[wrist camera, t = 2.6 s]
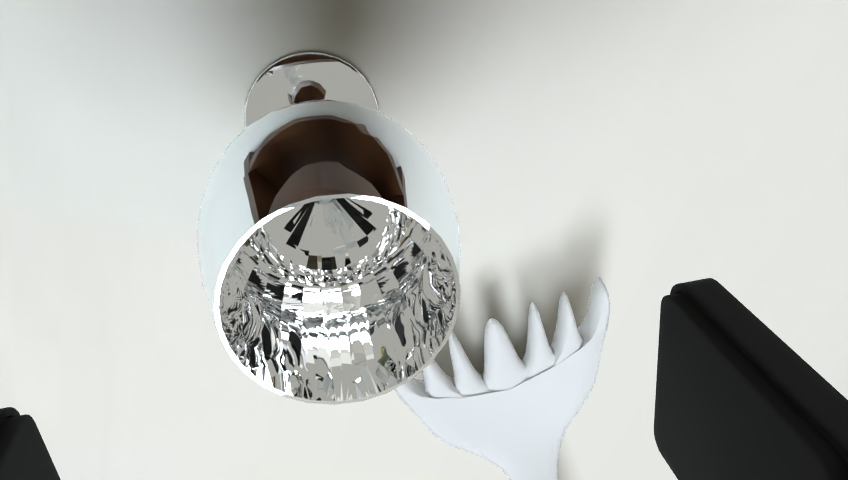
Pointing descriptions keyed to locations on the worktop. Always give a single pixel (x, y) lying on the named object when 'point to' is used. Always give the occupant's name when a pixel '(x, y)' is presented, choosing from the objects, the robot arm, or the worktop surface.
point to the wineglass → (328, 239)
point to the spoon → (515, 390)
